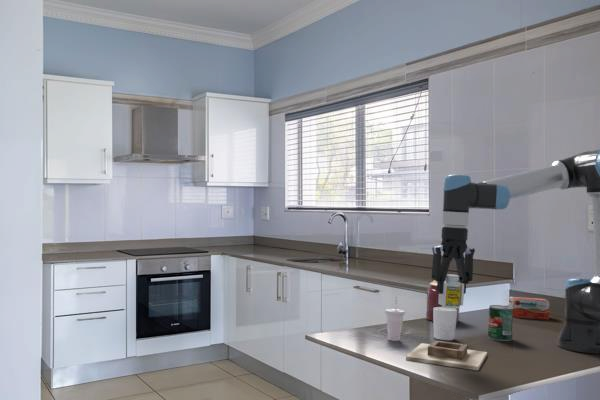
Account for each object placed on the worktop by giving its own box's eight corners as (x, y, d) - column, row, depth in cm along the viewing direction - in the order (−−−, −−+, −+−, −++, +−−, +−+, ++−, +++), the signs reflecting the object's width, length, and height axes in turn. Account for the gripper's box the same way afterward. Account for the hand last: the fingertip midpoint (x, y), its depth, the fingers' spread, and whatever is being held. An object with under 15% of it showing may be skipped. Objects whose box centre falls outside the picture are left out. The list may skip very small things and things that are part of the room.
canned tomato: (483, 337, 208) (485, 306, 208) (493, 335, 214) (495, 304, 214) (505, 342, 203) (507, 309, 203) (515, 339, 208) (517, 307, 209)
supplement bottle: (454, 305, 182) (456, 274, 182) (463, 309, 177) (464, 276, 177) (438, 305, 181) (439, 273, 181) (446, 308, 176) (447, 275, 176)
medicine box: (544, 317, 260) (545, 298, 260) (549, 320, 252) (550, 301, 252) (508, 314, 262) (509, 296, 262) (512, 317, 254) (512, 298, 254)
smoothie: (405, 339, 200) (407, 297, 200) (400, 342, 194) (402, 299, 194) (387, 336, 202) (389, 295, 202) (381, 340, 196) (383, 297, 197)
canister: (462, 324, 232) (464, 278, 233) (429, 322, 233) (431, 276, 233) (454, 317, 245) (456, 274, 246) (422, 316, 246) (424, 273, 246)
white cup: (456, 341, 200) (457, 311, 200) (432, 339, 201) (433, 309, 201) (455, 337, 207) (456, 308, 207) (431, 335, 209) (433, 306, 209)
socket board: (486, 355, 182) (487, 343, 182) (478, 370, 164) (478, 357, 164) (421, 346, 190) (421, 335, 190) (405, 359, 172) (406, 347, 172)
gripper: (473, 227, 186) (468, 302, 185) (421, 224, 179) (417, 302, 179) (488, 228, 179) (484, 306, 178) (435, 226, 172) (431, 307, 172)
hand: (450, 304), depth 179 cm, fingers closed on supplement bottle, 5 cm apart
